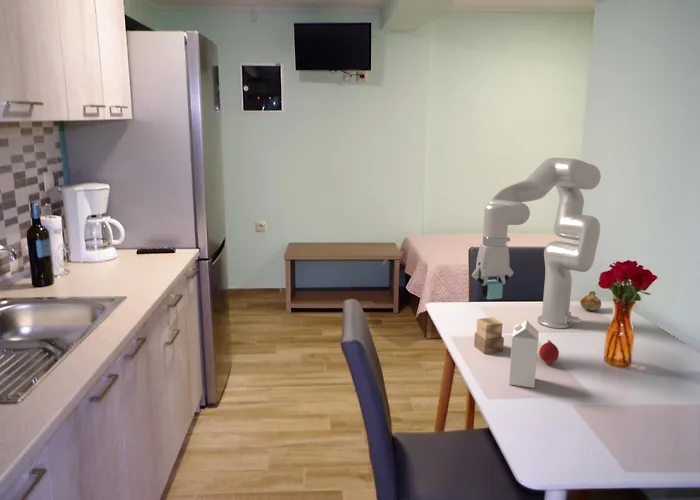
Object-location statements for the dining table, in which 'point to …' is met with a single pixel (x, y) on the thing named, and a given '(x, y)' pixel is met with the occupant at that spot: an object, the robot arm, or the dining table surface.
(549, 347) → the onion
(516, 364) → the milk carton
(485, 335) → the oak middle block
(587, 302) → the onion
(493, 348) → the walnut base block
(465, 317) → the dining table surface
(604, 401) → the dining table surface
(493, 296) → the teal cube
